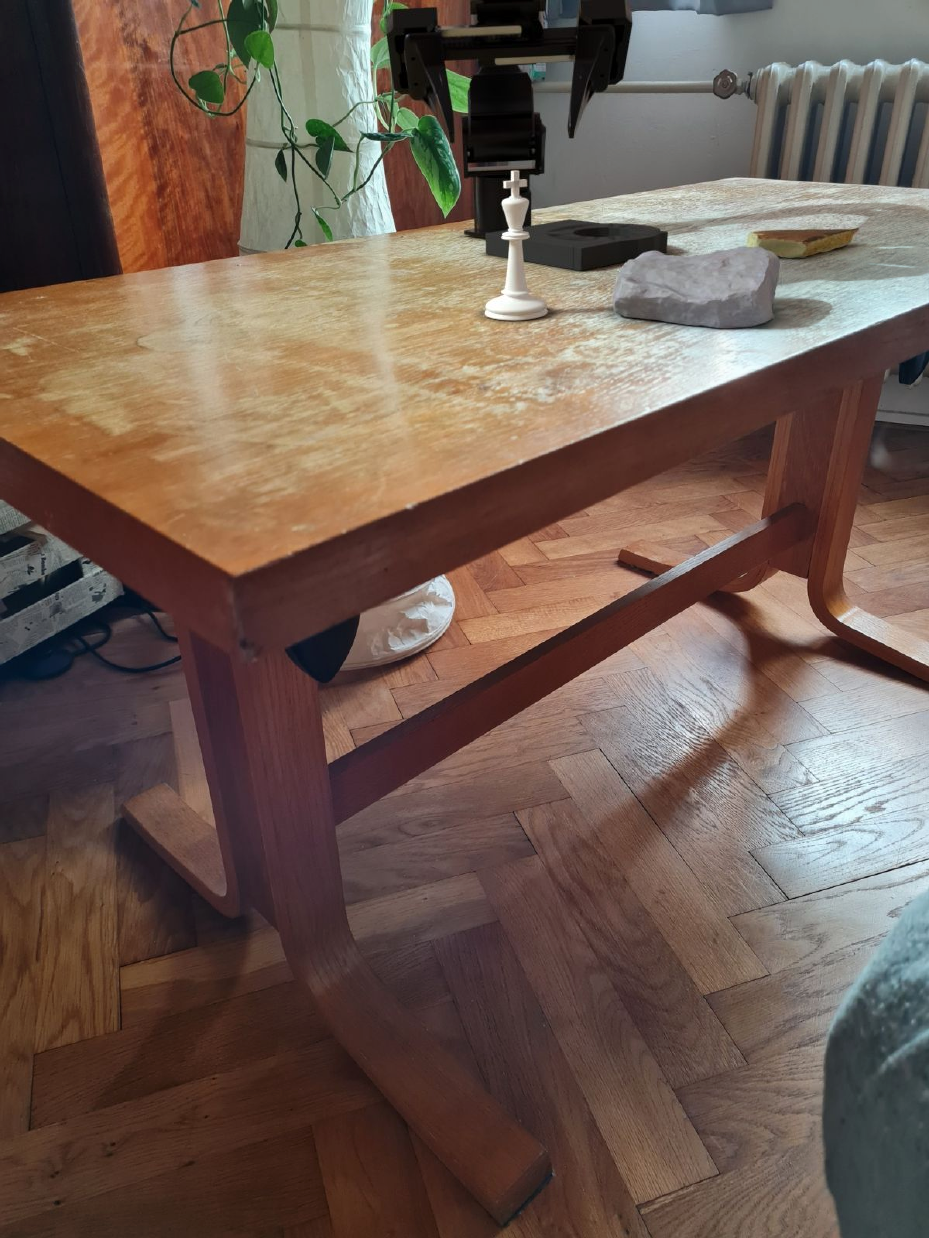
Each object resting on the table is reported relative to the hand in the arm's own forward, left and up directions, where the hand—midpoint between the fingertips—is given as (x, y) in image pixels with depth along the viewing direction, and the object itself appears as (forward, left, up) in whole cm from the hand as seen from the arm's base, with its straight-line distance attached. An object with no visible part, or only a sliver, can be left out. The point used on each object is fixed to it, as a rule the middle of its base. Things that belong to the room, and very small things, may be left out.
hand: (511, 137), depth 68 cm
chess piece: (+4, -3, -12) cm, 13 cm away
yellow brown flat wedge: (+4, +33, -12) cm, 35 cm away
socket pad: (-11, +18, -12) cm, 24 cm away
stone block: (+14, +6, -12) cm, 20 cm away
